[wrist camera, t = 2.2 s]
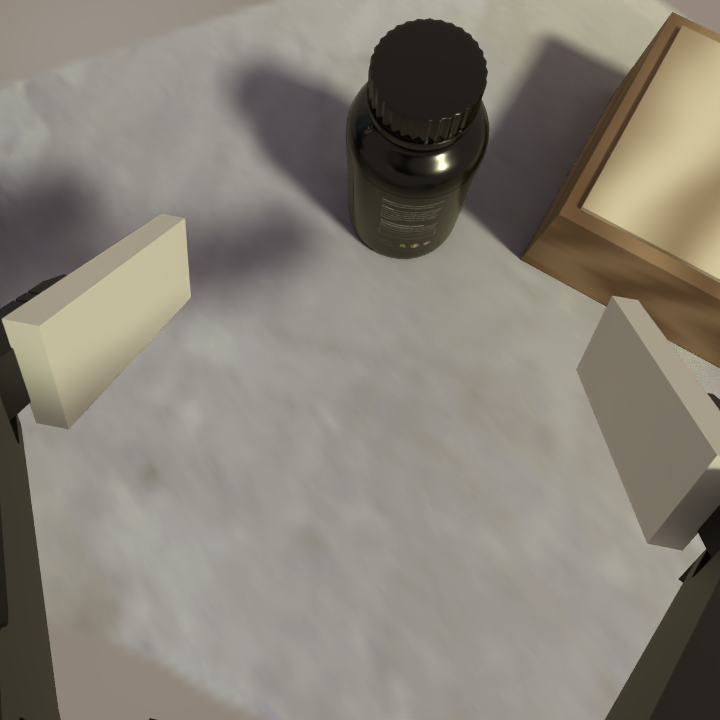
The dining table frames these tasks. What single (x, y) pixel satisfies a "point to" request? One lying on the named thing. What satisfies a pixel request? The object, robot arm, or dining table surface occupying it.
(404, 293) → the dining table surface
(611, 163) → the walnut riser block
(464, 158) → the supplement bottle
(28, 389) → the robot arm
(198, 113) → the dining table surface
